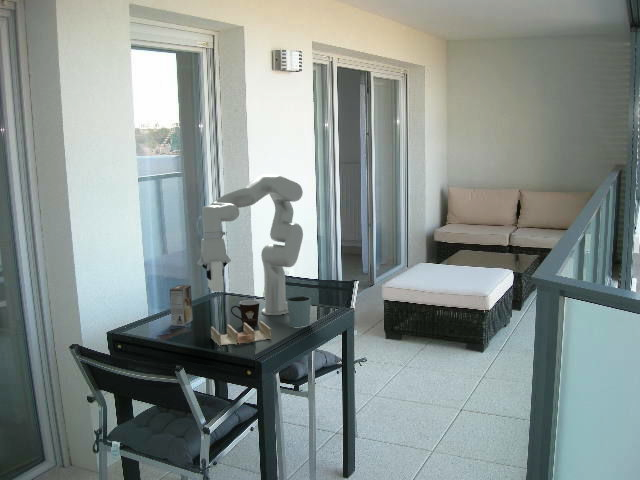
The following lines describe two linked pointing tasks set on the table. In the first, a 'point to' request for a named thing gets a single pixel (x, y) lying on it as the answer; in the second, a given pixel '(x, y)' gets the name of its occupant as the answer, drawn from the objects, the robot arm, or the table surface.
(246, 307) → the coffee mug
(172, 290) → the coffee box
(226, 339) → the divider rack
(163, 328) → the table surface
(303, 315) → the grey plant pot
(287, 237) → the robot arm
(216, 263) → the white rectangular block
